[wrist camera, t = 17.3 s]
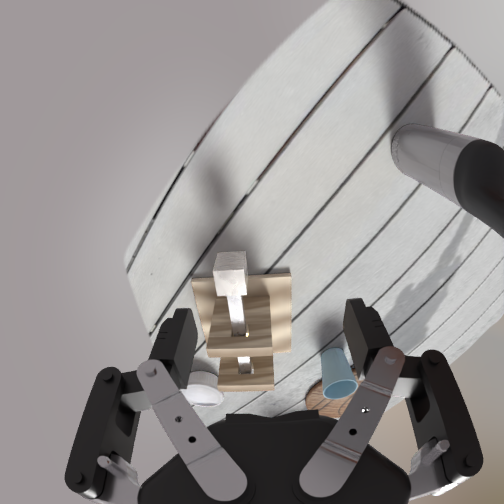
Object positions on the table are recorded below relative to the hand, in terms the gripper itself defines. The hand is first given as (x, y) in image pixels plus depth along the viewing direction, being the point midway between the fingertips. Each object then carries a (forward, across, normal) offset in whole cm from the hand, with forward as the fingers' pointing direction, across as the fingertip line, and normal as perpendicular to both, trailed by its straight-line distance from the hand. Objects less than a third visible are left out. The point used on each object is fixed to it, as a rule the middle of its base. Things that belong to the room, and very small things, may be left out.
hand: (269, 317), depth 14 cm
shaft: (+25, +5, +22) cm, 33 cm away
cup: (+32, -14, +42) cm, 55 cm away
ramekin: (+32, +18, +50) cm, 62 cm away
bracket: (+32, +5, +28) cm, 43 cm away
